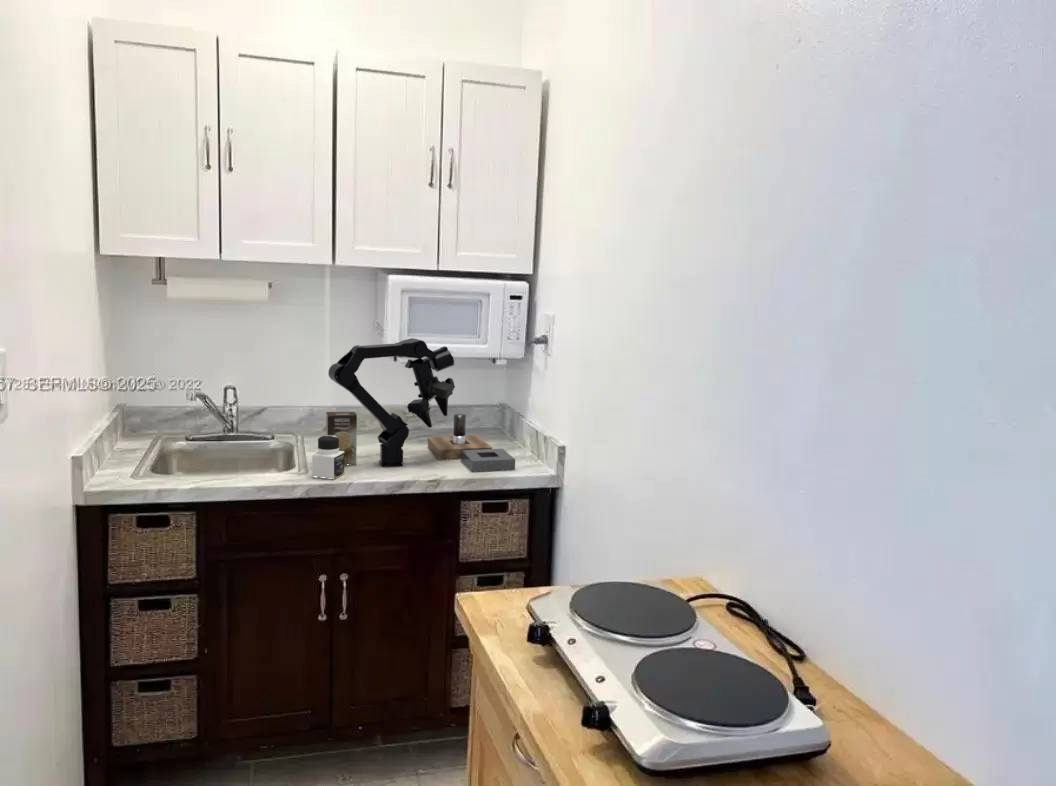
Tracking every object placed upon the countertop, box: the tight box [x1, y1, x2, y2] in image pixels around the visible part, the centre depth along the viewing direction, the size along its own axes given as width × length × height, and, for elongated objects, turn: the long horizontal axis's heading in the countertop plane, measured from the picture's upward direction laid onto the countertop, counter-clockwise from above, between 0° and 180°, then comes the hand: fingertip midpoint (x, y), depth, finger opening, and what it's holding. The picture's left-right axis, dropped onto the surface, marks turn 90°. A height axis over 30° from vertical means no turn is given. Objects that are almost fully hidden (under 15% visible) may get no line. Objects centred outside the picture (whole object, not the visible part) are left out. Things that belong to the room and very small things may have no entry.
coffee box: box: [325, 411, 358, 466], centre depth 251 cm, size 9×6×16 cm
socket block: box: [460, 448, 516, 473], centre depth 256 cm, size 14×14×4 cm
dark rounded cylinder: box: [452, 413, 466, 445], centre depth 270 cm, size 4×4×13 cm
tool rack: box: [427, 434, 493, 461], centre depth 271 cm, size 18×18×4 cm
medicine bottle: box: [311, 435, 346, 480], centre depth 236 cm, size 7×7×12 cm
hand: (438, 421), depth 258 cm, fingers open, 9 cm apart
